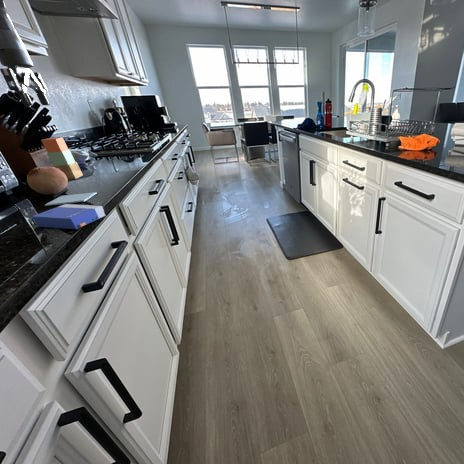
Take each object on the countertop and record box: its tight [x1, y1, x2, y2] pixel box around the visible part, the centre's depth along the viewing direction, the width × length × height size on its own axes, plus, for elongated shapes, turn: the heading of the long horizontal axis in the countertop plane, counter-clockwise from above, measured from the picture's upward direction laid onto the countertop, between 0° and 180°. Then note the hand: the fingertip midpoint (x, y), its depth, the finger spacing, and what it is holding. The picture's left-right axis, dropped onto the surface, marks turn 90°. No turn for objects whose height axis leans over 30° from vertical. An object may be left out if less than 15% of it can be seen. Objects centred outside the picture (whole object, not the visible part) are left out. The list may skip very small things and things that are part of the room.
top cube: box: [40, 137, 69, 153], centre depth 96 cm, size 5×5×5 cm
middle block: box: [46, 149, 76, 166], centre depth 98 cm, size 5×5×5 cm
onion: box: [26, 166, 69, 196], centre depth 82 cm, size 10×9×10 cm
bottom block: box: [51, 161, 84, 181], centre depth 101 cm, size 6×6×6 cm
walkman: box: [31, 203, 106, 230], centre depth 62 cm, size 8×3×12 cm
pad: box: [44, 191, 98, 207], centre depth 78 cm, size 10×8×1 cm
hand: (37, 105), depth 88 cm, fingers open, 8 cm apart
